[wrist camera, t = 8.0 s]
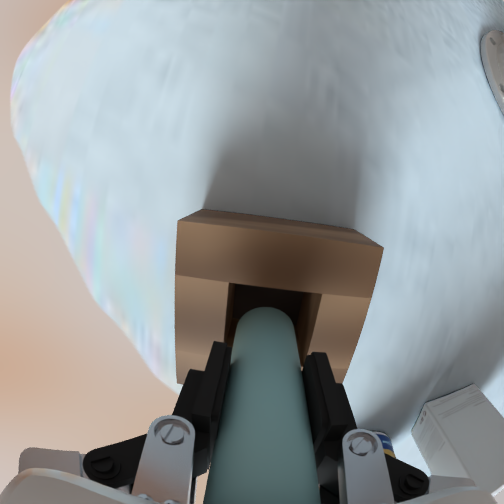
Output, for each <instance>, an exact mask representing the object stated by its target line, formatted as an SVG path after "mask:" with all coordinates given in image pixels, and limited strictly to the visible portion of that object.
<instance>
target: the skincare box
mask: <svg viewBox="0 0 504 504" xmlns="http://www.w3.org/2000/svg"><path fill="white" fill-rule="evenodd" d="M411 432H412V437H413V439H414V440H415V442H416V444H417V446H418V448H419V450H420V452H421V454H422V456H423V458H424V460H425V462H426V464H427V466H428V468H429V470H430V472H431V474H432V475H438V476H448V477H461V478H469V479H471V480H473V481H474V483H475V484H476V487H481V488H483V489H486V490H487V491H488V492H489V493H490V494H491V495H492V496H493V497H494V496H495V495H496V494H498V493H499V492H500V491H501V490H503V489H504V418H503V417H502V415H501V414H500V413H499V412H498V411H497V409H496V408H495V407H494V406H493V405H492V403H491V402H490V401H489V400H488V399H487V398H486V396H485V395H484V394H483V393H482V392H481V391H480V390H479V389H478V387H477V386H476V385H475V384H472V385H470V386H468V387H465V388H463V389H461V390H458V391H456V392H454V393H451V394H449V395H446V396H443V397H441V398H438V399H435V400H433V401H430V402H427V403H425V404H424V406H423V408H422V411H421V413H420V415H419V417H418V419H417V421H416V423H415V425H414V427H413V429H412V431H411Z"/></svg>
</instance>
